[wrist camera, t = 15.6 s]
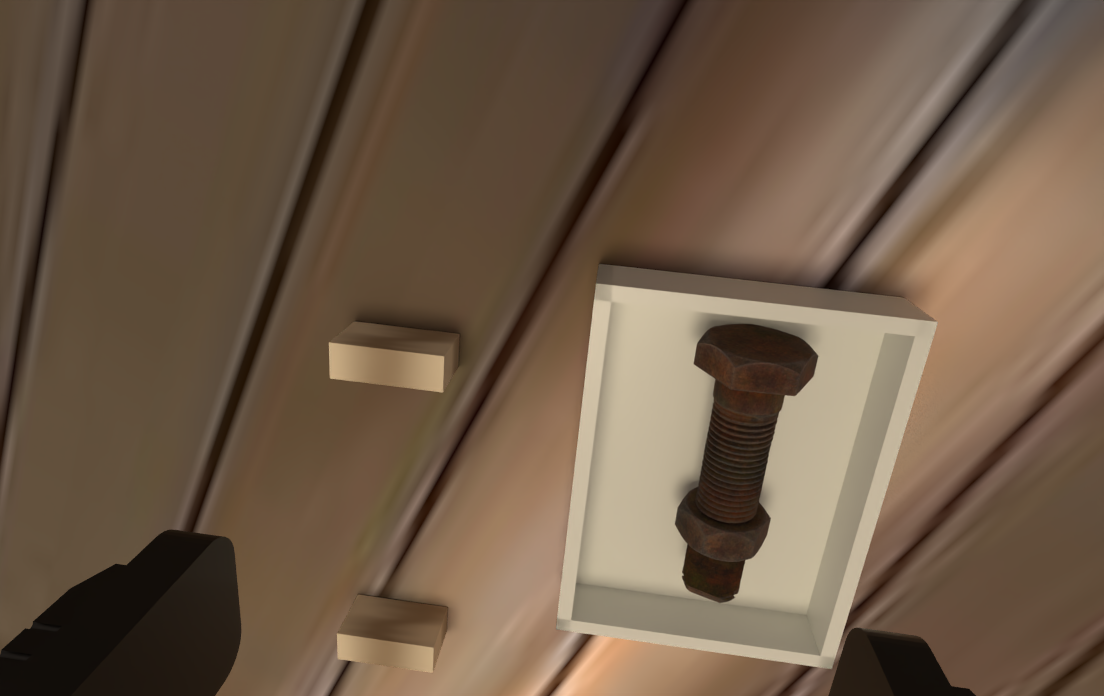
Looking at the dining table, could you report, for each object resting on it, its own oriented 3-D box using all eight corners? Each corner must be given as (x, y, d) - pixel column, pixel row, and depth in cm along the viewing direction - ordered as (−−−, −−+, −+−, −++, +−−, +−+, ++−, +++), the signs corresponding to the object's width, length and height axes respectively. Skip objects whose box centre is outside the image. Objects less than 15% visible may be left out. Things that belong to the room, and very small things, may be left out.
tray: (904, 297, 35) (938, 322, 31) (813, 617, 42) (831, 669, 38) (598, 263, 36) (596, 283, 32) (561, 582, 43) (556, 629, 39)
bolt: (690, 542, 42) (732, 313, 36) (769, 579, 40) (828, 339, 34) (645, 594, 38) (685, 343, 32) (731, 640, 35) (792, 375, 29)
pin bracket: (459, 333, 38) (444, 356, 35) (446, 631, 45) (432, 672, 42) (354, 321, 38) (328, 342, 35) (358, 618, 46) (337, 658, 42)
